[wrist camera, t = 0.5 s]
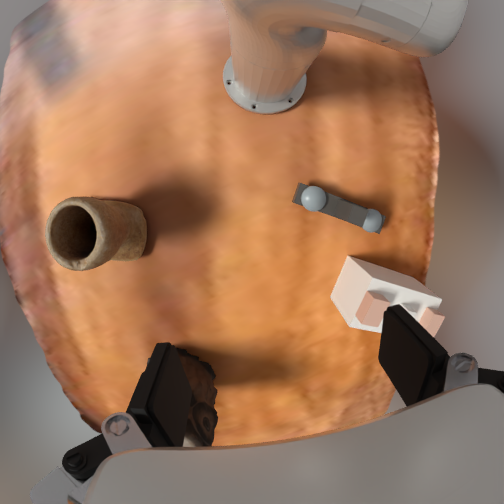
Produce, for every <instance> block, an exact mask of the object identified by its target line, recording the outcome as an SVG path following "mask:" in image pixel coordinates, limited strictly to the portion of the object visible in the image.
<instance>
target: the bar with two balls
mask: <svg viewBox="0 0 504 504" xmlns="http://www.w3.org/2000/svg"><path fill="white" fill-rule="evenodd" d="M292 202H293V203H296V204H299V205H302V206H304V207H305V208H306V209H308V210H309V211H319V212H322V213H325V214H328V215H331V216H333V217H336V218H339V219H342V220H344V221H347V222H349V223H352V224H355V225H357V226H360V227H362V228H363V229H364V230H366V231H367V232H376V233H378V234H380V231H381V229H382V226H383V223H384V220H385V218H386V216H384V215H381V214H380V213H379V212H378V211H377V210H375V209H367V208H365V207H362V206H360V205H357V204H355V203H353V202H350V201H348V200H345V199H342V198H340V197H337V196H335V195H332V194H329V193H327V192H324V191H323V190H322V189H321V188H319V187H316V186H308V185H305V184H302V183H298V186H297V189H296V192H295V195H294V198H293V201H292Z"/></svg>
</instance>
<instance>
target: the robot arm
mask: <svg viewBox="0 0 504 504" xmlns="http://www.w3.org/2000/svg"><path fill="white" fill-rule="evenodd" d="M221 2H222V4H223V6H224V8H225V10H226V13H227V17H228V24H229V33H230V44H231V56H230V58H229V59H228V60H227V62H226V64H225V67H224V71H223V82H224V86H225V89H226V91H227V93H228V95H229V97H230V98H231V99H232V100H233V101H234V102H235V103H236V104H237V105H239V106H240V107H242V108H243V109H245V110H247V111H250V112H253V113H258V114H274V113H279V112H282V111H285V110H287V109H288V108H290V107H292V106H293V105H294V104H295V103H296V102H297V101H298V100H299V99H300V98H301V96H302V94H303V93H304V90H305V87H306V81H307V78H306V71H307V70H308V68H309V67H310V66H311V64H312V63H313V61H314V60H315V59H316V57H317V56H318V54H319V53H320V51H321V50H322V48H323V46H324V44H325V41H326V37H327V30H329V31H333V32H340V33H344V34H348V35H351V36H355V37H358V38H362V39H365V40H368V41H371V42H374V43H377V44H380V45H383V46H385V47H389V48H391V49H394V50H397V51H400V52H402V53H405V54H408V55H412V56H417V57H431V56H435V55H437V54H439V53H441V52H442V51H444V50H445V49H446V48H447V47H448V46H449V45H450V44H451V43H452V42H453V40H454V39H455V37H456V35H457V33H458V31H459V29H460V27H461V25H462V22H463V19H464V16H465V13H466V9H467V6H468V2H469V0H221ZM228 83H231V84H230V85H228ZM289 100H290V101H291V103H289V102H288V101H289ZM253 106H255V107H256V108H255V109H253V108H252V107H253ZM447 353H448V352H447V351H446V350H445V349H444V348H443V347H442V346H441V345H440V344H439V343H438V342H437V341H436V340H435V338H434V337H433V336H432V335H431V334H430V333H429V332H428V331H427V330H426V329H425V328H424V327H423V326H422V325H421V324H420V323H419V322H418V321H417V320H416V319H415V318H414V317H413V316H412V315H411V314H409V313H408V312H407V311H406V310H405V309H404V308H403V307H402V306H401V305H400V304H396V305H393V306H389V307H387V309H386V311H384V314H383V324H382V333H381V341H380V349H379V356H378V358H379V362H380V364H381V366H382V367H383V369H384V370H385V372H386V374H387V375H388V377H389V378H390V380H391V382H392V383H393V385H394V386H395V388H396V390H397V391H398V393H399V394H400V396H401V398H402V399H403V401H404V402H405V404H406V406H407V407H405V408H402V409H399V410H397V411H394V412H391V413H388V414H385V415H383V416H380V417H377V418H373V419H370V420H367V421H364V422H360V423H357V424H353V425H350V426H346V427H342V428H338V429H334V430H330V431H326V432H322V433H317V434H312V435H307V436H302V437H297V438H291V439H285V440H278V441H271V442H263V443H254V444H244V445H230V446H210V447H183V443H184V437H185V431H186V425H187V419H188V414H189V408H190V402H191V397H192V389H191V386H190V384H189V381H188V379H187V376H186V374H185V371H184V368H183V366H182V363H181V361H180V358H179V355H178V352H177V350H176V347H175V346H174V345H171V344H170V343H169V342H167V343H157V344H156V346H155V348H154V351H153V353H152V355H151V358H150V360H149V363H148V365H147V367H146V370H145V372H143V373H142V374H141V377H140V379H139V381H138V384H137V386H136V389H135V391H134V393H133V396H132V398H131V401H130V403H129V406H128V408H127V411H126V413H123V412H119V413H114V414H112V415H110V416H108V417H107V418H106V419H105V420H104V422H103V423H102V428H101V429H102V434H100V435H99V436H97V437H94V438H93V439H91V440H89V441H87V442H85V443H83V444H81V445H79V446H77V447H75V448H73V449H71V450H69V451H67V453H66V454H65V455H64V457H63V460H62V465H63V466H62V467H61V468H59V467H56V468H55V469H54V470H53V471H51V472H50V473H49V474H48V475H47V476H46V477H44V478H43V479H42V480H41V481H40V482H39V483H37V484H36V485H35V486H34V487H33V488H32V489H31V492H30V498H31V501H32V502H33V503H34V504H504V371H496V370H490V369H482V368H478V363H477V361H476V359H475V358H474V357H473V356H472V355H469V354H467V353H456V354H454V355H452V356H451V357H450V356H449V355H448V354H447Z"/></svg>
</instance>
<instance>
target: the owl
mask: <svg viewBox="0 0 504 504" xmlns="http://www.w3.org/2000/svg"><path fill="white" fill-rule="evenodd" d="M176 350H177V352H178V355H179V358H180V361H181V363H182V366H183V368H184V371H185V374H186V376H187V379H188V381H189V384H190V386H191V389H192V397H191V402H190V408H189V414H188V419H187V425H186V431H185V437H184V443H183V447H210V446H212V443H213V440H214V429H215V427H216V425H217V421H218V416H217V412H216V410H215V409H214V404H215V398H216V395H217V389H216V388H215V387H214V385H213V380H214V379H215V377H216V375H215V374H214V371H213V369H212V367H211V365H210V364H209V363H207V362H202V361H200V360H199V358H198V357H197V356H193V355H191V354H189V353H187V350H185V349H179V348H176ZM149 360H150V358H148V362H147V365H148V363H149Z"/></svg>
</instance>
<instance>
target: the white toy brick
mask: <svg viewBox="0 0 504 504" xmlns="http://www.w3.org/2000/svg"><path fill="white" fill-rule="evenodd" d="M330 298H331V299H332V301H333V302H334V304H335V305H336V307H337V308H338V310H339V312H340V313H341V315H342V316H343V318H344V319H345V321H346V323H347V324H348V326H349V327H353V328H358V329H363V330H368V331H373V332H379V333H382V324H383V314H384V311H386V309H387V307H389V306H393V305H396V304H400V305H401V306H402V307H403V308H404V309H405V310H406V311H407V312H408V313H409V314H411V315H412V316H413V317H414V318H415V319H416V320H417V321H418V322H419V323H420V324H421V325H422V326H423V327H424V328H425V329H426V330H427V331H428V332H429V333H430V334H431V335H432V336H433V337H434V336H435V335H436V333H437V331H438V329H439V327H440V326H441V324H442V322H443V320H444V318H445V316H444V315H443V314H442V313H440V312H439V311H438V310H437V309H438V307H439V305H440V303H441V301H442V299H441V298H440V297H439V296H437V295H436V294H435V293H434V292H432V291H431V290H430V289H428V288H427V287H426V286H424V285H423V284H422V283H420V282H419V281H417V280H416V279H415V278H413V277H411V276H408V275H405V274H402V273H399V272H396V271H393V270H390V269H387V268H384V267H381V266H378V265H375V264H372V263H369V262H366V261H363V260H360V259H357V258H354V257H351V256H348V255H347V258H346V260H345V263H344V265H343V268H342V270H341V273H340V275H339V277H338V280H337V282H336V284H335V287H334V289H333V291H332V294H331V296H330Z"/></svg>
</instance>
